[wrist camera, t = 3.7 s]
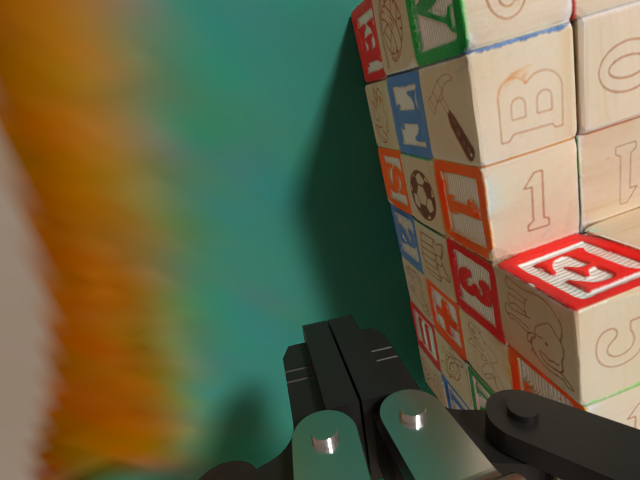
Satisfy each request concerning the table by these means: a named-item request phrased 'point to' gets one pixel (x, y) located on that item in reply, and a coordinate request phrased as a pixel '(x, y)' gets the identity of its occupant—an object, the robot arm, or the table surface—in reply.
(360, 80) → the table surface
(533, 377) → the stack of blocks
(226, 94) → the table surface
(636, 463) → the robot arm
